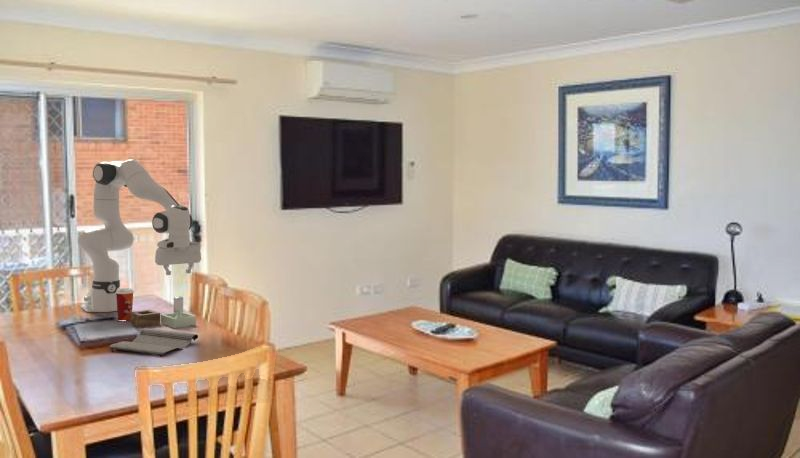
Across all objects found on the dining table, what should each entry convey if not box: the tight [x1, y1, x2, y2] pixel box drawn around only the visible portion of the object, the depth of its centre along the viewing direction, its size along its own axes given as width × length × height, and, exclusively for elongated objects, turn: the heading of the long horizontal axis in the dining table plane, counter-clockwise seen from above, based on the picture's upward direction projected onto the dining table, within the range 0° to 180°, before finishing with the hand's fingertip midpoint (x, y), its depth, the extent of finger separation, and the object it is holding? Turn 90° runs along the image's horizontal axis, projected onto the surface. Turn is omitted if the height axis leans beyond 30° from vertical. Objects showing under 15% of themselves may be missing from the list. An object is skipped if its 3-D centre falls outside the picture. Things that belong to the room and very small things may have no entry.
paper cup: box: [115, 287, 135, 322], centre depth 296 cm, size 8×8×14 cm
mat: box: [108, 327, 199, 357], centre depth 253 cm, size 23×24×5 cm
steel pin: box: [173, 296, 184, 319], centre depth 291 cm, size 4×4×11 cm
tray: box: [160, 311, 197, 329], centre depth 292 cm, size 12×10×4 cm
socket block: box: [129, 309, 161, 328], centre depth 290 cm, size 9×9×5 cm
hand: (178, 274), depth 290 cm, fingers open, 8 cm apart
